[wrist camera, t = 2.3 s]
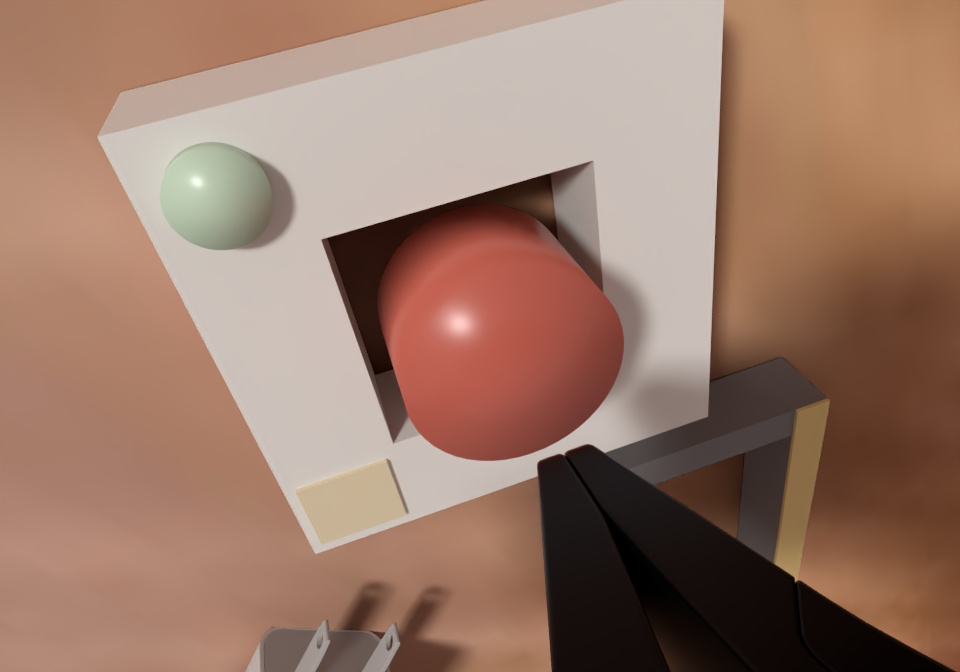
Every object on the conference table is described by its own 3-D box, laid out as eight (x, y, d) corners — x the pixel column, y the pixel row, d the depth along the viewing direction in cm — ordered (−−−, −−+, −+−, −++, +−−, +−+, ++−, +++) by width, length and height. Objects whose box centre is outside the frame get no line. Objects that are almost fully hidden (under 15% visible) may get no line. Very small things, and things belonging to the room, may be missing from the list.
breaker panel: (659, 359, 19) (716, 427, 17) (306, 477, 18) (317, 568, 15) (650, -42, 13) (739, -23, 11) (120, 91, 12) (92, 146, 10)
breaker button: (574, 343, 15) (628, 420, 13) (404, 399, 15) (431, 487, 13) (556, 179, 13) (618, 240, 11) (352, 239, 13) (375, 315, 10)
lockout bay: (756, 571, 27) (790, 618, 25) (591, 635, 26) (615, 687, 24) (781, 357, 20) (830, 400, 19) (563, 432, 20) (594, 484, 18)
